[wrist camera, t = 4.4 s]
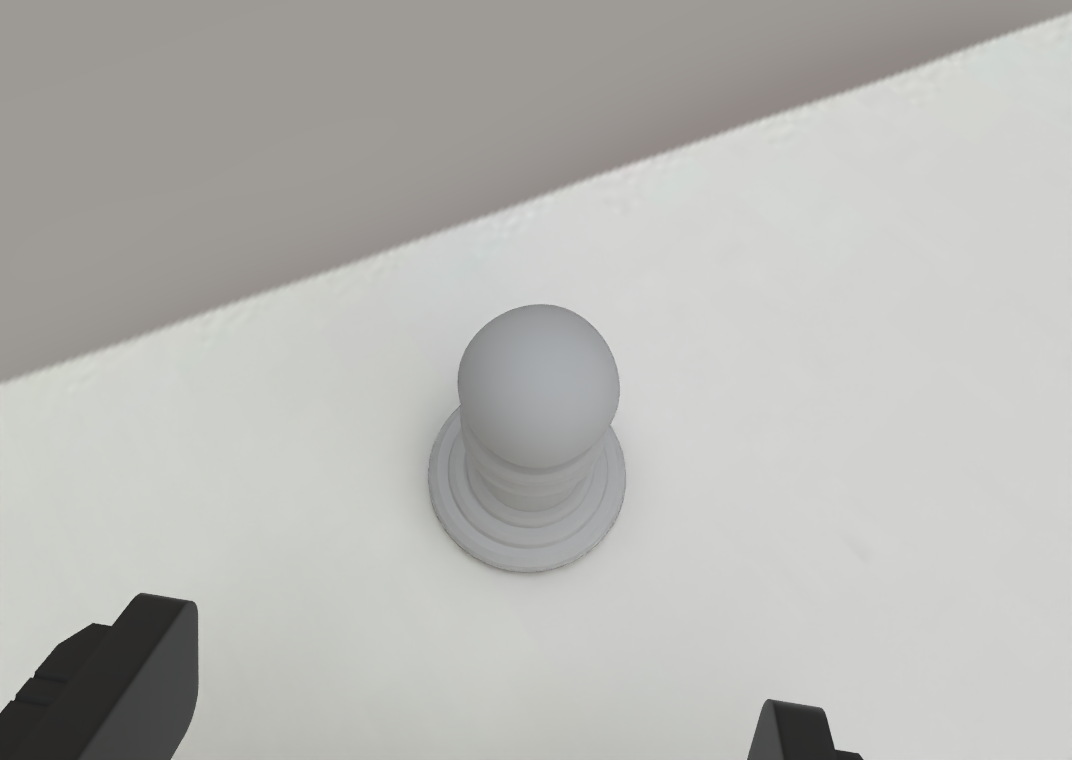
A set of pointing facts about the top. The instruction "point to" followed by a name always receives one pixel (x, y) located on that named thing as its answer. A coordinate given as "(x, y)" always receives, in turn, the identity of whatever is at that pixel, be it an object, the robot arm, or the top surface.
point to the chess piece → (531, 442)
